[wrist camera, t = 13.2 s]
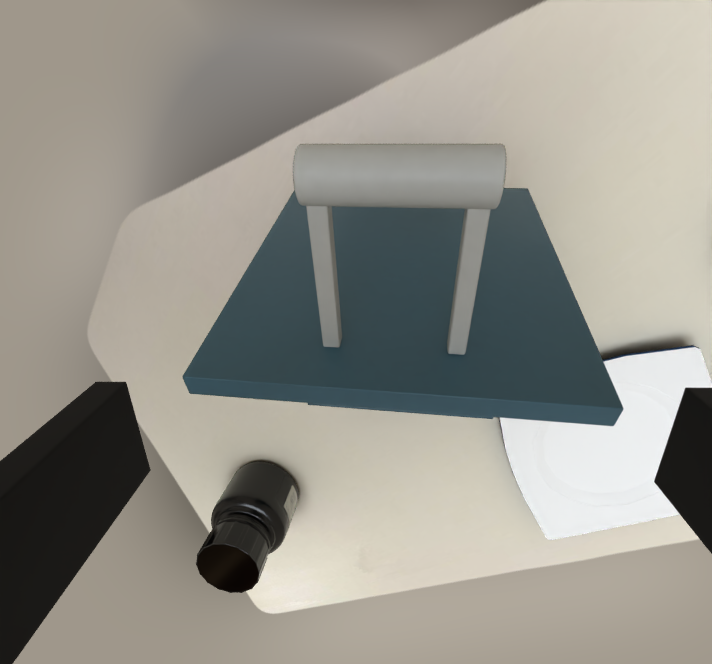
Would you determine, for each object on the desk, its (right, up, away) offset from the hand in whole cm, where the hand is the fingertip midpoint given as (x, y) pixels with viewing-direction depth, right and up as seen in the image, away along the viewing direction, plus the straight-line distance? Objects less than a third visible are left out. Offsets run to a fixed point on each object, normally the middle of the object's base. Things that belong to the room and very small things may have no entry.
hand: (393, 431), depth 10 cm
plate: (+26, -9, +36) cm, 45 cm away
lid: (+2, +6, +13) cm, 14 cm away
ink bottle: (-12, -18, +44) cm, 49 cm away
